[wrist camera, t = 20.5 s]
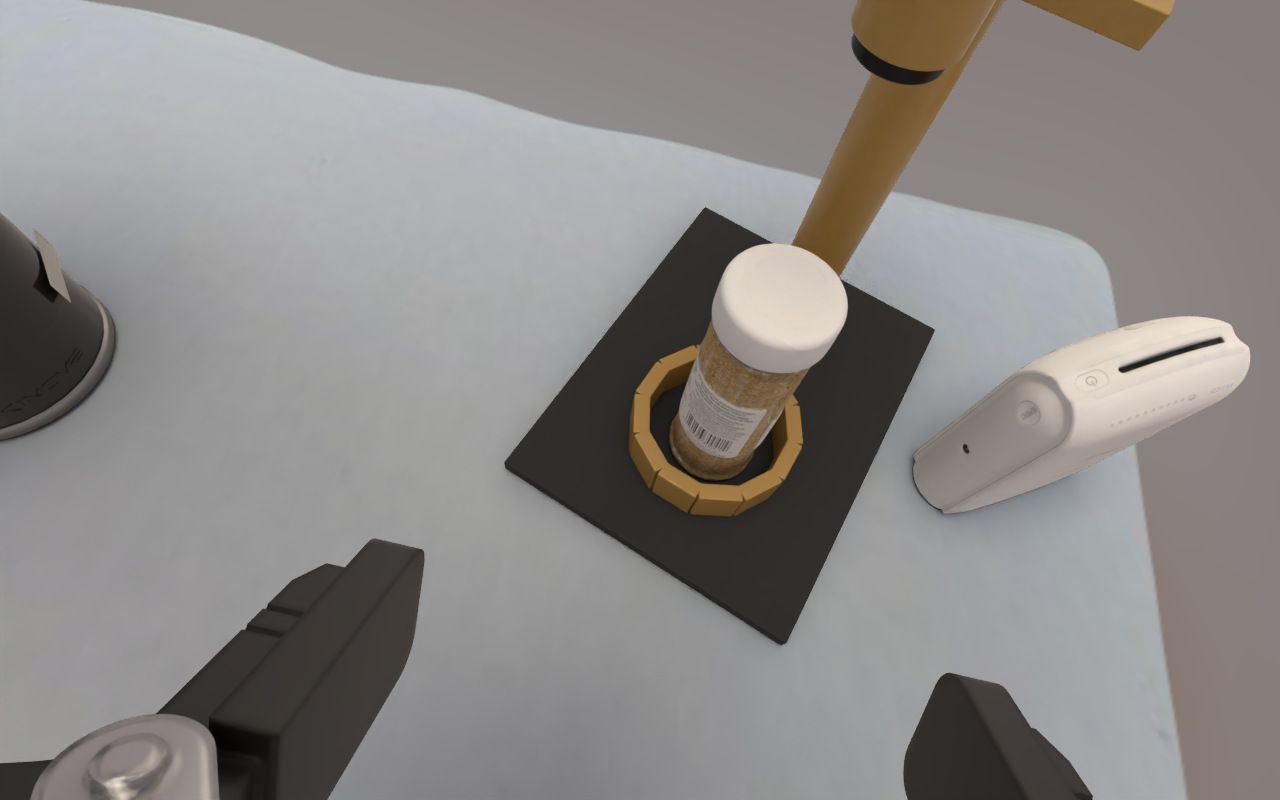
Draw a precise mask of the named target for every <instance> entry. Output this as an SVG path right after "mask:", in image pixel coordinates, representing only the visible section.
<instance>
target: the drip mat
mask: <svg viewBox="0 0 1280 800" xmlns="http://www.w3.org/2000/svg"><path fill="white" fill-rule="evenodd" d="M763 244H773V243H771V242H770V241H768V240H766V239H764V238H762V237H760V236H758V235H756V234H755V233H753V232H751V231H749V230H747V229H745V228H743V227H741V226H740V225H738V224H736V223H734V222H732V221H730V220H728V219H726V218H725V217H723V216H721V215H719V214H717V213H715V212H713V211H711V210H710V209H708V208H706V207H705V208H704V209H703V210H702V212H701V213H700V214H699V215H698V217H697V218H696V219H695V221H694V222H693V223H692V224H691V226H690V227H689V228H688V229H687V231H686V232H685V233H684V235H683V236H682V237H681V238H680V240H679V241H678V242H677V243H676V245H675V246H674V247H673V249H672V250H671V251H670V252H669V254H668V255H667V256H666V257H665V259H664V260H663V261H662V263H661V264H660V265H659V266H658V268H657V269H656V270H655V271H654V273H653V274H652V275H651V277H650V278H649V279H648V280H647V282H646V283H645V284H644V285H643V287H642V288H641V289H640V291H639V292H638V293H637V294H636V296H635V297H634V298H633V299H632V301H631V302H630V303H629V305H628V306H627V307H626V308H625V310H624V311H623V312H622V313H621V315H620V316H619V317H618V319H617V320H616V321H615V322H614V324H613V325H612V326H611V327H610V329H609V330H608V331H607V333H606V334H605V335H604V336H603V338H602V339H601V340H600V341H599V343H598V344H597V345H596V347H595V348H594V349H593V350H592V352H591V353H590V354H589V355H588V357H587V358H586V359H585V361H584V362H583V363H582V364H581V366H580V367H579V368H578V369H577V371H576V372H575V373H574V375H573V376H572V377H571V378H570V380H569V381H568V382H567V383H566V385H565V386H564V387H563V389H562V390H561V391H560V392H559V394H558V395H557V396H556V397H555V399H554V400H553V401H552V403H551V404H550V405H549V406H548V408H547V409H546V410H545V411H544V413H543V414H542V415H541V417H540V418H539V419H538V420H537V422H536V423H535V424H534V425H533V427H532V428H531V429H530V431H529V432H528V433H527V434H526V436H525V437H524V438H523V439H522V441H521V442H520V443H519V445H518V446H517V447H516V448H515V450H514V451H513V452H512V453H511V455H510V456H509V457H508V459H507V460H506V461H505V467H506V469H508V470H509V471H511V472H512V473H514V474H516V475H517V476H519V477H520V478H522V479H523V480H525V481H526V482H528V483H530V484H531V485H533V486H534V487H536V488H537V489H539V490H540V491H542V492H544V493H545V494H547V495H548V496H550V497H551V498H553V499H554V500H556V501H558V502H559V503H561V504H562V505H564V506H565V507H567V508H568V509H570V510H572V511H573V512H575V513H576V514H578V515H579V516H581V517H582V518H584V519H586V520H587V521H589V522H590V523H592V524H593V525H595V526H596V527H598V528H600V529H601V530H603V531H604V532H606V533H607V534H609V535H610V536H612V537H614V538H615V539H617V540H618V541H620V542H621V543H623V544H624V545H626V546H628V547H629V548H631V549H632V550H634V551H635V552H637V553H638V554H640V555H642V556H643V557H645V558H646V559H648V560H649V561H651V562H652V563H654V564H656V565H657V566H659V567H660V568H662V569H663V570H665V571H666V572H668V573H670V574H671V575H673V576H674V577H676V578H677V579H679V580H681V581H682V582H684V583H685V584H687V585H688V586H690V587H691V588H693V589H695V590H696V591H698V592H699V593H701V594H702V595H704V596H705V597H707V598H709V599H710V600H712V601H713V602H715V603H716V604H718V605H719V606H721V607H723V608H724V609H726V610H727V611H729V612H730V613H732V614H733V615H735V616H737V617H738V618H740V619H741V620H743V621H744V622H746V623H747V624H749V625H751V626H752V627H754V628H755V629H757V630H758V631H760V632H761V633H763V634H765V635H766V636H768V637H769V638H771V639H772V640H774V641H775V642H777V643H779V644H780V645H783V644H785V643H787V641H788V639H789V636H790V634H791V632H792V630H793V628H794V626H795V624H796V622H797V620H798V617H799V615H800V613H801V611H802V609H803V607H804V605H805V603H806V601H807V599H808V596H809V594H810V592H811V590H812V588H813V586H814V584H815V582H816V580H817V577H818V575H819V573H820V571H821V569H822V567H823V565H824V563H825V561H826V559H827V556H828V554H829V552H830V550H831V548H832V546H833V544H834V542H835V540H836V537H837V535H838V533H839V531H840V529H841V527H842V525H843V523H844V521H845V519H846V516H847V514H848V512H849V510H850V508H851V506H852V504H853V502H854V500H855V497H856V495H857V493H858V491H859V489H860V487H861V485H862V483H863V481H864V479H865V476H866V474H867V472H868V470H869V468H870V466H871V464H872V462H873V460H874V457H875V455H876V453H877V451H878V449H879V447H880V445H881V443H882V441H883V439H884V436H885V434H886V432H887V430H888V428H889V426H890V424H891V422H892V420H893V418H894V415H895V413H896V411H897V409H898V407H899V405H900V403H901V401H902V399H903V396H904V394H905V392H906V390H907V388H908V386H909V384H910V382H911V380H912V378H913V375H914V373H915V371H916V369H917V367H918V365H919V363H920V361H921V359H922V356H923V354H924V352H925V350H926V348H927V346H928V344H929V342H930V340H931V338H932V335H933V333H934V331H935V330H934V329H933V328H931V327H929V326H927V325H925V324H923V323H922V322H920V321H918V320H916V319H914V318H912V317H910V316H908V315H907V314H905V313H903V312H901V311H899V310H897V309H895V308H893V307H892V306H890V305H888V304H886V303H884V302H882V301H880V300H878V299H877V298H875V297H873V296H871V295H869V294H867V293H865V292H863V291H861V290H860V289H858V288H856V287H854V286H852V285H850V284H848V283H846V282H845V281H843V280H841V279H840V280H841V282H842V284H843V286H844V289H845V292H846V295H847V302H848V310H847V317H846V320H845V323H844V325H843V327H842V329H841V331H840V333H839V334H838V336H837V338H836V339H835V341H834V343H833V344H832V346H831V347H830V348H829V350H828V351H827V353H826V354H825V355H824V357H823V358H822V359H821V360H820V361H818V362H817V363H815V364H814V365H812V366H811V367H810V368H809V370H808V372H807V373H806V375H805V376H804V378H803V379H802V380H801V382H800V384H799V386H798V387H797V388H796V390H795V391H794V393H793V396H794V397H795V399H796V400H797V402H798V404H797V405H796V406H799V407H800V416H801V427H802V438H803V444H802V445H801V446H802V449H801V451H800V453H799V455H798V456H797V458H796V460H795V462H794V464H793V466H792V467H791V469H790V471H789V473H788V475H787V477H786V479H785V480H784V481H783V482H782V483H781V485H780V486H779V487H778V488H777V489H776V490H775V491H774V493H773V494H772V495H771V496H770V497H769V498H768V499H766V500H764V501H763V502H761V503H759V504H757V505H755V506H753V507H751V508H749V509H747V510H745V511H743V512H742V513H740V514H738V515H736V516H734V515H733V514H732V516H730V517H729V516H711V515H694V514H690V509H689V511H688V512H687V513H686V512H684V511H683V510H681V509H679V508H678V507H676V506H675V505H673V504H671V503H670V502H668V501H666V500H665V499H663V498H662V497H660V496H658V495H657V494H655V493H654V492H652V488H653V487H652V488H650V489H649V488H648V486H647V485H646V483H645V481H644V479H643V477H642V476H641V474H640V472H639V470H638V468H637V467H636V465H635V463H634V461H633V460H632V458H631V456H630V451H629V433H630V414H631V409H632V404H633V399H634V395H635V393H636V390H637V388H638V387H639V386H640V384H641V383H642V381H643V380H644V379H645V377H646V376H647V374H648V373H649V372H650V370H651V369H652V368H653V366H654V365H655V363H656V362H659V360H660V359H662V358H664V357H667V356H669V355H671V354H674V353H676V352H679V351H681V350H683V349H686V348H688V347H690V346H693V345H694V346H695V348H696V346H697V345H701V343H702V341H703V339H704V338H705V336H706V333H707V330H708V328H709V324H710V322H711V319H712V304H713V300H714V297H715V294H716V291H717V288H718V286H719V283H720V281H721V278H722V275H723V273H724V271H725V269H726V268H727V266H728V264H729V263H730V262H731V261H732V260H733V259H734V258H735V257H736V256H737V255H738V254H740V253H742V252H743V251H745V250H747V249H749V248H752V247H754V246H758V245H763ZM686 384H687V382H686V383H684V384H681V385H679V386H677V387H675V388H672V389H670V390H668V391H665V392H663V393H662V394H661V396H660V397H659V399H658V400H657V402H656V403H655V405H654V406H653V407H652V409H651V410H650V433H651V434H652V436H653V438H654V440H655V441H656V443H657V445H658V446H659V448H660V450H661V452H662V453H663V455H664V457H665V459H666V460H667V462H668V463H669V464H670V465H672V466H673V467H675V468H677V469H678V470H680V471H682V472H683V473H685V474H687V475H688V476H690V477H691V478H693V479H695V480H696V481H698V482H700V483H703V484H719V485H735V486H739V485H741V484H743V483H745V482H747V481H749V480H751V479H753V478H755V477H757V476H759V475H761V474H763V473H765V472H766V471H767V469H768V467H769V465H770V464H771V462H772V460H773V458H774V457H773V442H772V428H771V430H770V431H769V433H768V434H767V436H766V437H765V439H764V440H763V441H762V443H761V444H760V445H759V446H758V447H757V448H756V449H755V451H754V453H753V456H752V458H751V460H750V461H749V463H748V464H747V466H746V467H745V469H744V470H742V471H741V472H740V473H739V474H737V475H736V476H734V477H733V478H730V479H725V480H719V481H710V480H704V479H701V478H698V477H696V476H694V475H692V474H690V473H689V472H687V471H686V470H685V469H684V468H683V467H681V465H680V464H679V463H678V462H677V460H676V459H675V458H674V456H673V454H672V451H671V447H670V444H669V432H670V426H671V424H672V422H673V420H674V418H675V416H676V415H677V414H678V411H679V407H680V402H681V399H682V396H683V393H684V390H685V387H686Z"/></svg>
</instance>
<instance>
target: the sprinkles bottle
mask: <svg viewBox="0 0 1280 800" xmlns="http://www.w3.org/2000/svg"><path fill="white" fill-rule="evenodd" d="M847 310H848V302H847V295H846V292H845V289H844V286H843V284H842V282H841V280H840V278H839V277H838V275H837V274H836V273H835V272H834V270H833V269H832V268H831V267H830V266H829V265H828V264H827V263H826V262H824V261H823V260H822V259H820V258H819V257H818V256H816V255H814V254H813V253H811V252H809V251H807V250H804V249H802V248H799V247H796V246H792V245H787V244H777V243H773V244H763V245H758V246H754V247H752V248H749V249H747V250H745V251H743V252H742V253H740V254H738V255H737V256H736V257H735V258H734V259H733V260H732V261H731V262H730V263H729V264H728V266H727V268H726V269H725V271H724V273H723V275H722V278H721V281H720V283H719V286H718V288H717V291H716V294H715V297H714V300H713V304H712V319H711V322H710V324H709V328H708V330H707V333H706V336H705V338H704V339H703V341H702V343H701V346H700V348H699V351H698V353H697V356H696V359H695V362H694V365H693V367H692V370H691V373H690V376H689V379H688V382H687V384H686V387H685V390H684V393H683V396H682V399H681V402H680V407H679V411H678V414H677V415H676V416H675V418H674V420H673V422H672V424H671V426H670V432H669V444H670V447H671V451H672V454H673V456H674V458H675V459H676V460H677V462H678V463H679V464H680V465H681V467H683V468H684V469H685V470H686V471H687V472H689V473H690V474H692V475H694V476H696V477H698V478H701V479H704V480H710V481H719V480H725V479H730V478H733V477H734V476H736V475H737V474H739V473H740V472H741V471H742V470H744V469H745V467H746V466H747V464H748V463H749V461H750V460H751V458H752V456H753V453H754V451H755V449H756V448H757V447H758V446H759V445H760V444H761V443H762V441H763V440H764V439H765V437H766V436H767V434H768V433H769V431H770V430H771V428H772V427H773V425H774V424H775V422H776V421H777V419H778V418H779V416H780V415H781V413H782V411H783V408H784V406H785V405H786V403H787V402H788V400H789V399H790V397H791V396H792V395H793V393H794V391H795V390H796V388H797V387H798V386H799V384H800V382H801V380H802V379H803V378H804V376H805V375H806V373H807V372H808V370H809V368H810V367H811V366H812V365H814V364H815V363H817V362H818V361H820V360H821V359H822V358H823V357H824V355H825V354H826V353H827V351H828V350H829V348H830V347H831V346H832V344H833V343H834V341H835V339H836V338H837V336H838V334H839V333H840V331H841V329H842V327H843V325H844V323H845V320H846V317H847Z"/></svg>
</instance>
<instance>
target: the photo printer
mask: <svg viewBox="0 0 1280 800" xmlns="http://www.w3.org/2000/svg"><path fill="white" fill-rule="evenodd" d="M1249 365H1250V351H1249V347H1248V346H1247V345H1245V344H1244V343H1243V342H1241V341H1240V340H1239V339H1238V338H1237V337H1236V335H1235V334H1234V331H1233V328H1232V326H1231V325H1230V324H1227V323H1226V322H1223V321H1220V320H1216V319H1211V318H1205V317H1192V316H1182V317H1172V318H1164V319H1157V320H1151V321H1147V322H1142V323H1138V324H1134V325H1130V326H1126V327H1122V328H1119V329H1115V330H1112V331H1108V332H1105V333H1102V334H1099V335H1096V336H1093V337H1090V338H1087V339H1084V340H1081V341H1078V342H1075V343H1073V344H1070V345H1068V346H1065V347H1062V348H1060V349H1057V350H1055V351H1053V352H1051V353H1049V354H1047V355H1045V356H1043V357H1041V358H1039V359H1037V360H1035V361H1033V362H1031V363H1029V364H1028V365H1026V366H1024V367H1023V368H1021V369H1020V370H1018V371H1017V372H1015V373H1014V374H1013V375H1011V376H1010V377H1009V378H1008V379H1006V380H1005V381H1004V382H1003V383H1001V384H1000V385H999V386H998V387H996V388H995V389H994V390H993V391H991V392H990V393H989V394H987V395H986V396H985V397H984V398H983V399H981V400H980V401H979V402H978V403H976V404H975V405H974V406H972V407H971V408H970V409H969V410H968V411H966V412H965V413H964V414H963V415H961V416H960V417H959V418H958V419H956V420H955V421H954V422H953V423H951V424H950V425H949V426H947V427H946V428H945V429H944V430H942V431H941V432H940V433H939V434H937V435H936V436H935V437H933V438H932V439H931V440H930V441H928V442H927V443H926V444H924V445H923V446H922V447H921V448H919V449H918V450H917V451H916V452H915V453H914V455H913V457H914V460H915V464H914V466H913V475H914V480H915V483H916V485H917V488H918V489H919V491H920V493H921V494H922V496H923V497H924V498H925V499H926V500H927V501H928V502H929V503H930V504H932V505H933V506H934V507H936V508H939V509H941V510H942V511H943V513H944V514H949V513H958V512H964V511H969V510H972V509H976V508H979V507H983V506H986V505H989V504H993V503H996V502H999V501H1002V500H1005V499H1008V498H1011V497H1014V496H1017V495H1020V494H1022V493H1025V492H1028V491H1031V490H1034V489H1036V488H1039V487H1042V486H1044V485H1047V484H1050V483H1052V482H1055V481H1057V480H1060V479H1062V478H1064V477H1067V476H1069V475H1072V474H1074V473H1076V472H1079V471H1081V470H1083V469H1085V468H1087V467H1089V466H1091V465H1093V464H1095V463H1097V462H1099V461H1101V460H1104V459H1106V458H1108V457H1110V456H1111V455H1113V454H1115V453H1117V452H1119V451H1121V450H1123V449H1125V448H1127V447H1129V446H1131V445H1133V444H1135V443H1137V442H1139V441H1141V440H1143V439H1145V438H1147V437H1149V436H1151V435H1153V434H1155V433H1157V432H1159V431H1161V430H1163V429H1165V428H1167V427H1169V426H1171V425H1173V424H1175V423H1177V422H1179V421H1181V420H1183V419H1185V418H1186V417H1188V416H1190V415H1192V414H1194V413H1196V412H1198V411H1200V410H1202V409H1204V408H1206V407H1208V406H1210V405H1212V404H1214V403H1216V402H1218V401H1219V400H1221V399H1223V398H1224V397H1226V396H1227V395H1228V394H1230V393H1231V392H1232V391H1233V390H1234V389H1235V388H1236V387H1237V386H1238V385H1239V384H1240V383H1241V382H1242V381H1243V379H1244V377H1245V376H1246V374H1247V371H1248V369H1249Z"/></svg>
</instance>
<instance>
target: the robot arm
mask: <svg viewBox="0 0 1280 800" xmlns="http://www.w3.org/2000/svg"><path fill="white" fill-rule="evenodd" d="M33 229H34V228H33ZM34 232H35V235H36V239H37V242H38V245H39V247H38V246H36V245H35V244H34V243H33V242H32V241H31V240H30V239H29V238H28V237H27V236H25V235H24V234H23V233H22V232H21V231H20V230H19V229H18V228H17V227H16V226H15V225H13V224H12V223H11V222H10V221H9V220H8V219H7V218H6V217H5V216H4V215H3V214H1V213H0V440H3V439H7V438H11V437H15V436H18V435H21V434H24V433H27V432H30V431H32V430H35V429H37V428H39V427H41V426H43V425H45V424H47V423H49V422H51V421H53V420H55V419H56V418H58V417H60V416H61V415H63V414H64V413H66V412H67V411H68V410H70V409H71V408H72V407H74V406H75V405H76V404H77V403H78V402H80V401H81V400H82V399H83V398H84V397H85V396H86V395H87V394H88V393H89V392H90V391H91V390H92V389H93V387H94V386H95V385H96V384H97V383H98V381H99V380H100V378H101V377H102V375H103V374H104V372H105V370H106V368H107V366H108V364H109V362H110V359H111V356H112V353H113V349H114V344H115V331H114V325H113V321H112V319H111V316H110V314H109V313H108V311H107V309H106V308H105V307H104V305H103V304H102V303H101V302H100V301H99V300H98V299H97V298H96V297H94V296H93V295H92V294H91V293H90V292H89V291H88V290H86V289H85V288H84V287H82V286H80V285H79V284H77V283H76V282H75V281H74V280H73V279H72V278H71V277H70V276H69V275H67V274H66V273H65V272H64V271H63V270H62V269H61V268H60V265H59V262H58V259H57V256H56V252H55V249H54V247H53V246H52V245H51V244H50V243H49V242H48V241H47V240H46V239H45V238H44V237H43V236H41V235H40V234H39V233H38V232H37V231H36V230H35V229H34ZM423 568H424V551H423V550H422V549H418V548H414V547H409V546H405V545H401V544H396V543H392V542H388V541H383V540H379V539H372V540H370V541H369V542H368V543H367V544H366V545H365V546H364V547H363V548H362V549H361V550H360V552H359V553H358V554H357V555H356V556H355V557H354V558H353V559H352V560H351V561H350V563H349V564H348V565H347V566H346V567H345V568H344V567H340V566H336V565H331V564H327V563H326V564H324V565H322V566H320V567H318V568H316V569H314V570H312V571H310V572H308V573H306V574H304V575H302V576H300V577H298V578H296V579H294V580H292V581H291V582H290V583H289V584H288V585H287V586H286V587H285V588H284V589H283V590H282V591H281V592H280V593H279V594H278V595H277V596H276V597H275V598H274V599H272V600H271V601H270V602H269V603H268V606H267V608H266V609H262V610H261V611H260V612H259V613H258V614H257V615H256V616H255V617H254V618H253V619H252V620H251V621H250V622H249V623H248V624H247V627H246V629H245V630H241V631H240V632H239V633H238V634H237V635H236V636H235V637H234V638H233V639H232V640H231V641H230V642H229V643H228V644H227V645H226V646H225V647H224V648H223V649H222V650H221V651H220V652H219V653H218V654H216V655H215V656H214V657H213V658H212V659H211V660H210V661H209V662H208V663H207V664H206V665H205V666H204V667H203V668H202V669H201V670H200V671H199V672H198V673H197V674H196V675H195V676H194V677H193V678H192V679H191V680H190V681H189V682H188V683H187V684H186V685H185V686H184V687H183V688H182V689H181V690H180V691H179V692H178V693H177V694H176V695H175V696H174V697H173V698H172V699H171V700H170V701H169V702H168V703H167V704H166V705H165V706H164V707H163V708H162V709H160V710H159V711H158V712H157V713H156V714H152V715H143V716H138V717H132V718H129V719H125V720H121V721H118V722H115V723H112V724H110V725H107V726H104V727H102V728H100V729H98V730H96V731H94V732H92V733H89V734H88V735H86V736H84V737H83V738H81V739H79V740H78V741H76V742H74V743H73V744H72V745H70V746H69V747H68V748H66V749H65V750H64V751H62V752H61V753H60V754H59V755H58V756H57V757H56V758H55V759H54V760H45V761H34V762H17V763H0V800H327V799H328V797H329V796H330V794H331V792H332V791H333V789H334V787H335V785H336V784H337V782H338V780H339V779H340V777H341V775H342V774H343V772H344V770H345V769H346V767H347V765H348V764H349V762H350V760H351V758H352V757H353V755H354V753H355V752H356V750H357V748H358V747H359V745H360V743H361V742H362V740H363V738H364V736H365V735H366V733H367V731H368V730H369V728H370V726H371V725H372V723H373V721H374V720H375V718H376V716H377V715H378V713H379V711H380V709H381V708H382V706H383V704H384V703H385V701H386V699H387V698H388V696H389V694H390V693H391V691H392V689H393V688H394V686H395V684H396V682H397V681H398V679H399V677H400V675H401V673H402V671H403V669H404V667H405V665H406V662H407V659H408V657H409V654H410V650H411V647H412V643H413V639H414V634H415V628H416V620H417V613H418V605H419V598H420V591H421V583H422V576H423ZM904 786H905V791H906V795H907V798H908V800H1092V797H1093V796H1092V794H1091V793H1090V791H1089V790H1088V788H1087V787H1086V785H1085V784H1084V782H1083V781H1082V780H1081V778H1080V777H1079V775H1078V774H1077V772H1076V771H1075V769H1074V768H1073V766H1072V765H1071V763H1070V762H1069V761H1068V760H1067V759H1066V758H1065V757H1064V756H1063V755H1062V754H1061V753H1060V752H1059V751H1058V750H1057V749H1056V748H1055V747H1054V746H1053V745H1052V744H1051V743H1050V742H1049V741H1048V740H1047V739H1046V738H1045V737H1044V736H1042V735H1041V734H1040V733H1039V732H1038V731H1037V730H1036V729H1034V728H1031V727H1030V725H1029V724H1028V722H1027V721H1026V719H1025V718H1024V716H1023V715H1022V713H1021V711H1020V710H1019V708H1018V707H1017V705H1016V704H1015V702H1014V701H1013V699H1012V698H1011V696H1010V694H1009V693H1008V692H1007V690H1006V689H1005V688H1004V687H1003V686H1001V685H999V684H996V683H991V682H987V681H983V680H978V679H974V678H970V677H965V676H961V675H957V674H952V673H946V674H944V675H943V676H941V677H940V679H939V680H938V682H937V684H936V685H935V688H934V690H933V692H932V694H931V697H930V699H929V701H928V703H927V706H926V708H925V710H924V712H923V715H922V717H921V719H920V721H919V724H918V726H917V728H916V730H915V733H914V735H913V737H912V739H911V742H910V744H909V746H908V749H907V751H906V755H905V760H904Z"/></svg>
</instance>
